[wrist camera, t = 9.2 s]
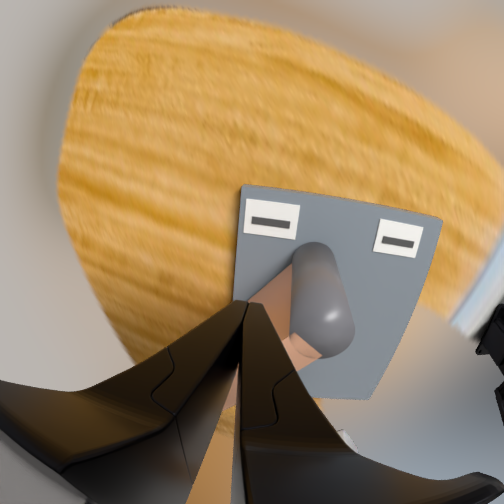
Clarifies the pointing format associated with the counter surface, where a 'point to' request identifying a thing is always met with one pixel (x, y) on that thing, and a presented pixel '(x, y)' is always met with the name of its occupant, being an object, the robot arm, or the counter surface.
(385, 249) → the label board
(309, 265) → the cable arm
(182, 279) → the counter surface
